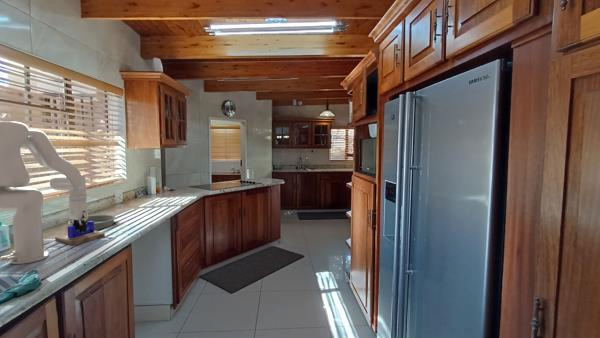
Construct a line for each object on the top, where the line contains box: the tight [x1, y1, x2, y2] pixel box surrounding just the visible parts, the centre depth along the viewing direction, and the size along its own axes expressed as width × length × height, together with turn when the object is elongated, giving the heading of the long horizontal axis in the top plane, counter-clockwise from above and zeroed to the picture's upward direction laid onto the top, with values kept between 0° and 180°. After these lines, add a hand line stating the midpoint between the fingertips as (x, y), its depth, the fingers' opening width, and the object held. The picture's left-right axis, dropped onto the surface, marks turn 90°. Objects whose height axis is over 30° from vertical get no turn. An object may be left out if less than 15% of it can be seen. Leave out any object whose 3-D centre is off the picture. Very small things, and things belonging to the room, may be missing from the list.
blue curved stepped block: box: [67, 221, 95, 238], centre depth 161 cm, size 12×4×6 cm, turn 164°
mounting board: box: [54, 230, 106, 246], centre depth 161 cm, size 16×16×2 cm
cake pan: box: [67, 214, 117, 231], centre depth 187 cm, size 25×25×4 cm
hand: (79, 230), depth 161 cm, fingers open, 5 cm apart
